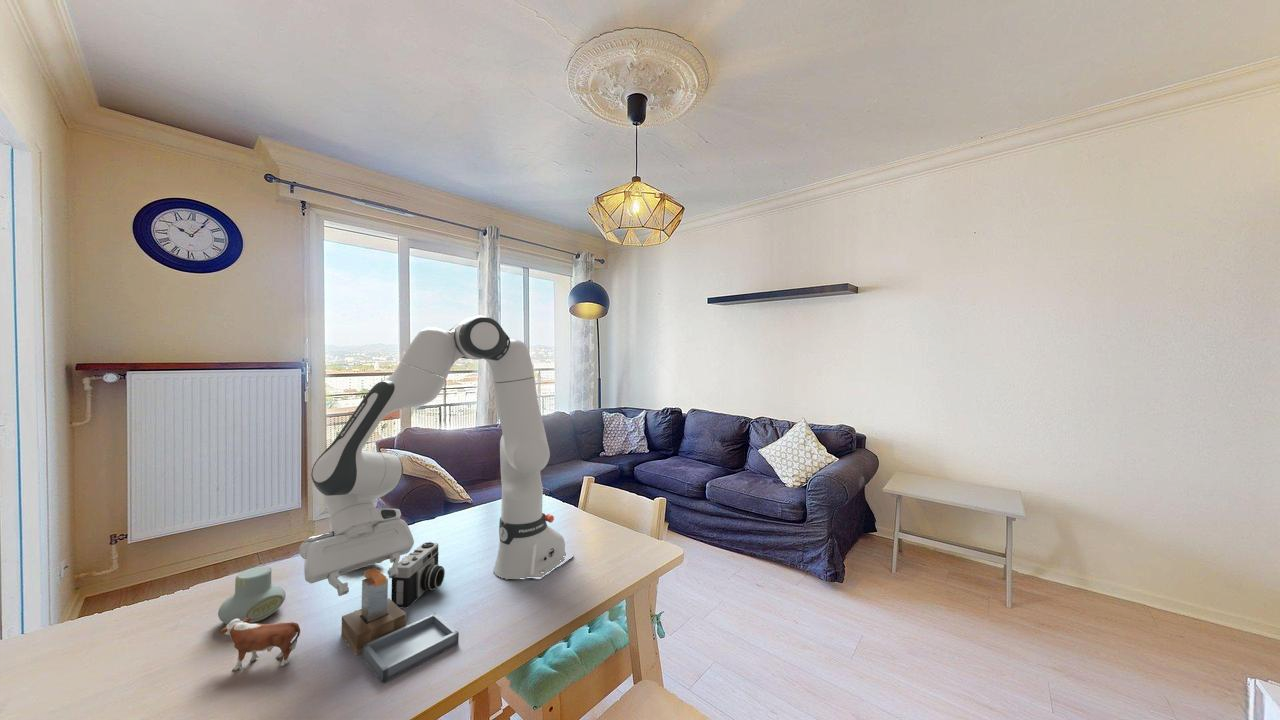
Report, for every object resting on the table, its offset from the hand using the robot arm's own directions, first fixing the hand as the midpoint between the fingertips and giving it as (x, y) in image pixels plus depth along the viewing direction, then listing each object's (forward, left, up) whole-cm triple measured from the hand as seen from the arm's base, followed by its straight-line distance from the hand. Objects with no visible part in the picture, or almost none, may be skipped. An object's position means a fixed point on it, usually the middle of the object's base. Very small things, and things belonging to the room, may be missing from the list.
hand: (370, 584), depth 90 cm
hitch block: (0, +2, -10) cm, 10 cm away
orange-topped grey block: (0, +2, -10) cm, 10 cm away
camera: (-14, -6, -10) cm, 18 cm away
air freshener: (+15, -24, -10) cm, 30 cm away
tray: (-3, +13, -10) cm, 17 cm away
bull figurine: (+17, -5, -10) cm, 20 cm away
